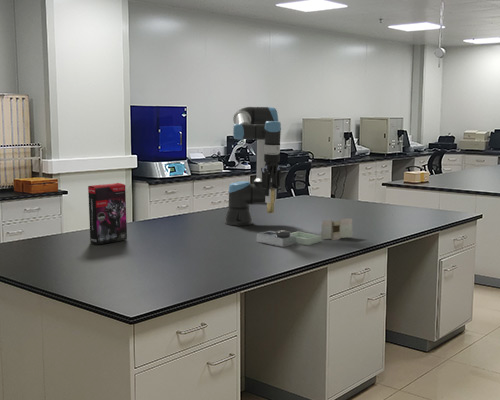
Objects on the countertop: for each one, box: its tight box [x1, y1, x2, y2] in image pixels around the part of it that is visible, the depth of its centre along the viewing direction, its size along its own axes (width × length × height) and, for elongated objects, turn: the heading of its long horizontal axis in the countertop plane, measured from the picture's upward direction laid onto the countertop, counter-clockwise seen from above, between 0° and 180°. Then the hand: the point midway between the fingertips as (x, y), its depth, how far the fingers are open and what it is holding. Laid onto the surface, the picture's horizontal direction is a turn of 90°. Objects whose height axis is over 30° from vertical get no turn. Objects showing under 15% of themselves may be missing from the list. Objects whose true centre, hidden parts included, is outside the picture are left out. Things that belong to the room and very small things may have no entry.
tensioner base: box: [256, 229, 296, 248], centre depth 294 cm, size 16×10×7 cm, turn 49°
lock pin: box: [266, 188, 275, 214], centre depth 294 cm, size 4×4×12 cm
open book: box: [320, 218, 354, 241], centre depth 311 cm, size 16×9×15 cm
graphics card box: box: [87, 182, 128, 246], centre depth 286 cm, size 17×7×27 cm, turn 137°
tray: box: [290, 231, 322, 246], centre depth 299 cm, size 14×12×3 cm
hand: (270, 202), depth 295 cm, fingers closed on lock pin, 3 cm apart
